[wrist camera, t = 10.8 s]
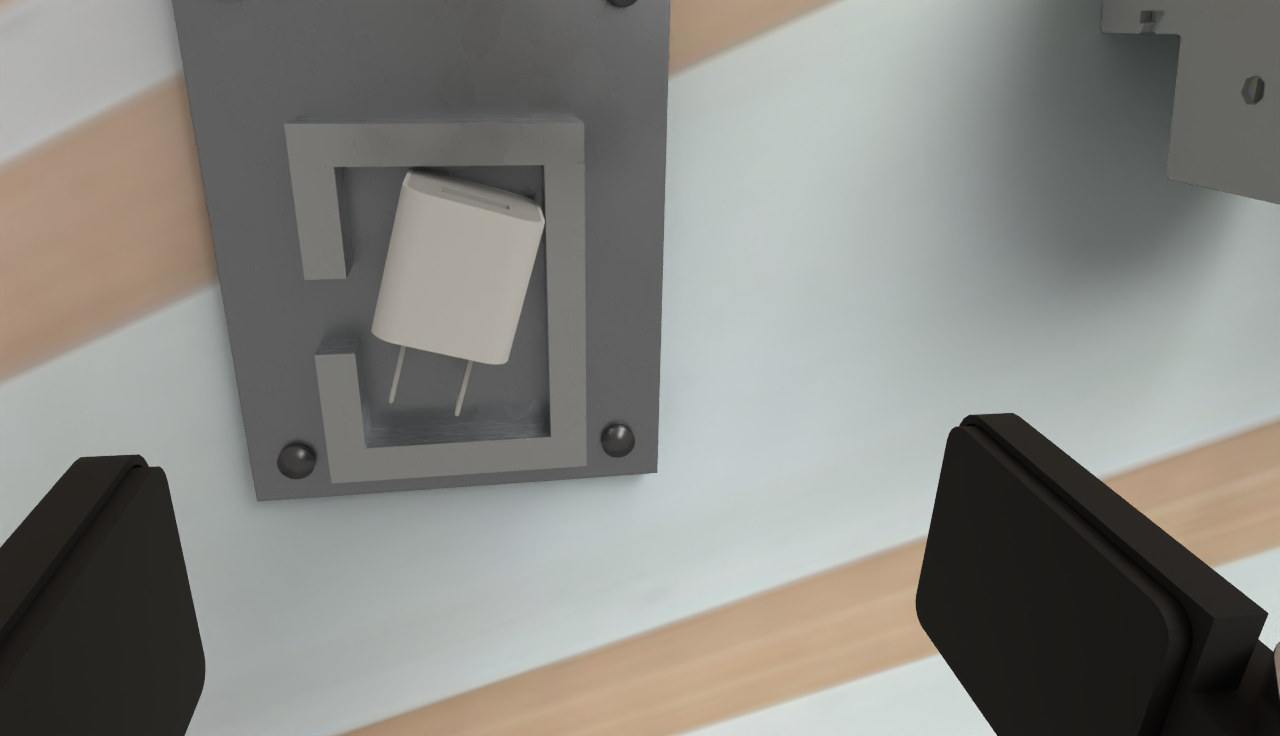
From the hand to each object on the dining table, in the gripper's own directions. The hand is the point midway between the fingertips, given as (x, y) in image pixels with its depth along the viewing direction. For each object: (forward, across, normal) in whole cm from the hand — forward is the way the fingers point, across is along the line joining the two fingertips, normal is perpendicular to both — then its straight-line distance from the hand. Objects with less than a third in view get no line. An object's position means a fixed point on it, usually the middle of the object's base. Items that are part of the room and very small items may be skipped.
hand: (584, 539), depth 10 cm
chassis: (+20, +2, +1) cm, 20 cm away
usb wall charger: (+19, +2, +3) cm, 19 cm away
